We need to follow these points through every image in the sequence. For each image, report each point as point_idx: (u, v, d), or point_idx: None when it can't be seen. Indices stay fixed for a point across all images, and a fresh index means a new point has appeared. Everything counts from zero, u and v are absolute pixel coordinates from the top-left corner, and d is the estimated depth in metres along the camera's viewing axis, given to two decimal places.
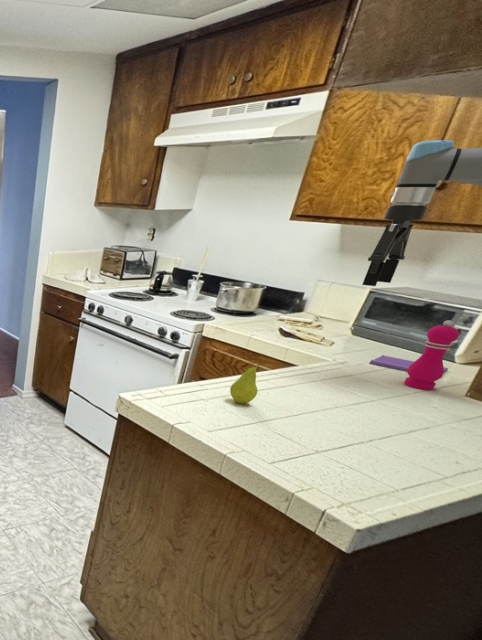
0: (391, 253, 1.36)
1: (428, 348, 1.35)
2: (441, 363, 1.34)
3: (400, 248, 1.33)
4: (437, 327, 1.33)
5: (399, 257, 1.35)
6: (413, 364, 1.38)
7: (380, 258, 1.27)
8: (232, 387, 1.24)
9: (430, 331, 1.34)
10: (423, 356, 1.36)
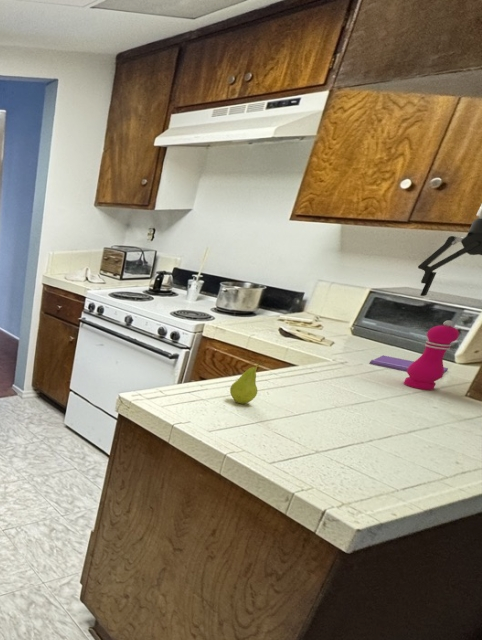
0: (438, 266, 1.31)
1: (428, 348, 1.35)
2: (441, 363, 1.34)
3: (449, 261, 1.30)
4: (437, 327, 1.33)
5: None
6: (413, 364, 1.38)
7: None
8: (232, 387, 1.24)
9: (430, 331, 1.34)
10: (423, 356, 1.36)
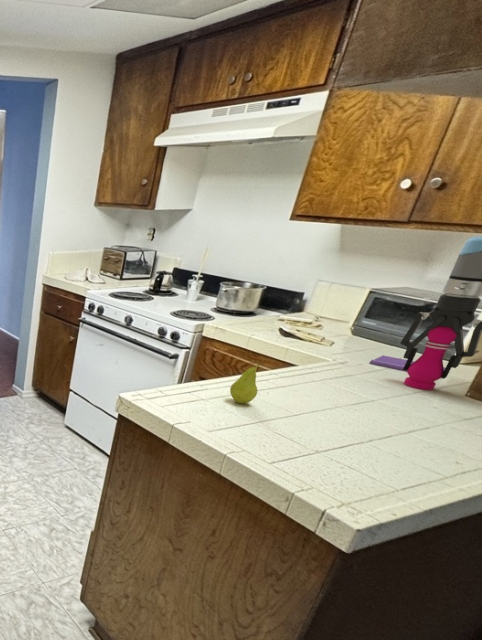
0: (418, 342, 1.37)
1: (428, 348, 1.35)
2: (441, 363, 1.34)
3: (426, 336, 1.37)
4: (437, 327, 1.33)
5: None
6: (413, 364, 1.38)
7: None
8: (232, 387, 1.24)
9: (430, 331, 1.34)
10: (423, 356, 1.36)
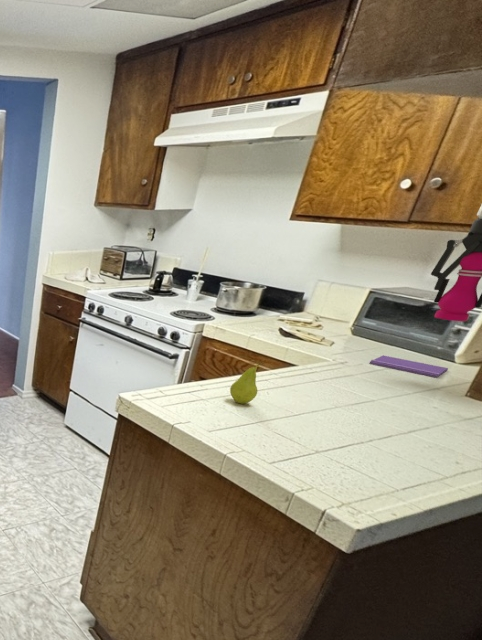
0: (450, 271, 1.31)
1: (462, 277, 1.29)
2: (475, 292, 1.28)
3: (459, 264, 1.31)
4: (471, 253, 1.27)
5: None
6: (445, 295, 1.32)
7: None
8: (232, 387, 1.24)
9: (463, 258, 1.28)
10: (456, 286, 1.30)
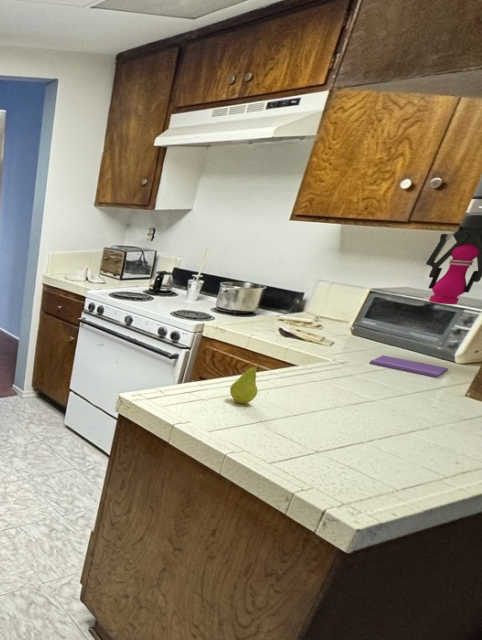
0: (443, 261, 1.51)
1: (452, 266, 1.48)
2: (464, 279, 1.48)
3: (450, 255, 1.50)
4: (461, 245, 1.46)
5: None
6: (438, 282, 1.52)
7: None
8: (232, 387, 1.24)
9: (454, 249, 1.48)
10: (447, 273, 1.50)
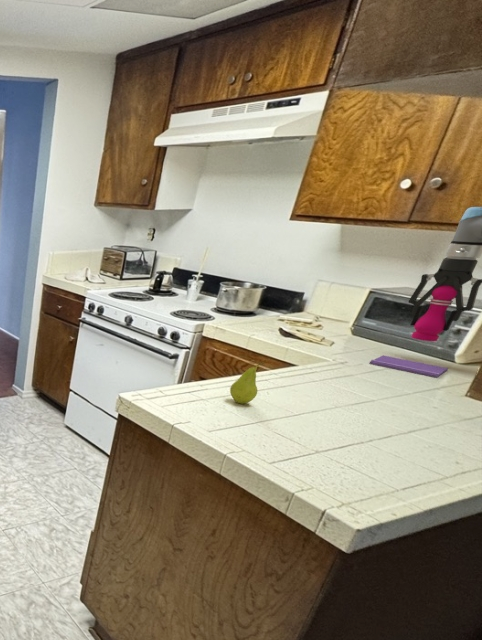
0: (424, 300, 1.59)
1: (433, 305, 1.57)
2: (444, 317, 1.56)
3: (431, 294, 1.58)
4: (440, 286, 1.55)
5: None
6: (419, 319, 1.60)
7: (471, 309, 1.52)
8: (232, 387, 1.24)
9: (434, 290, 1.56)
10: (428, 312, 1.58)
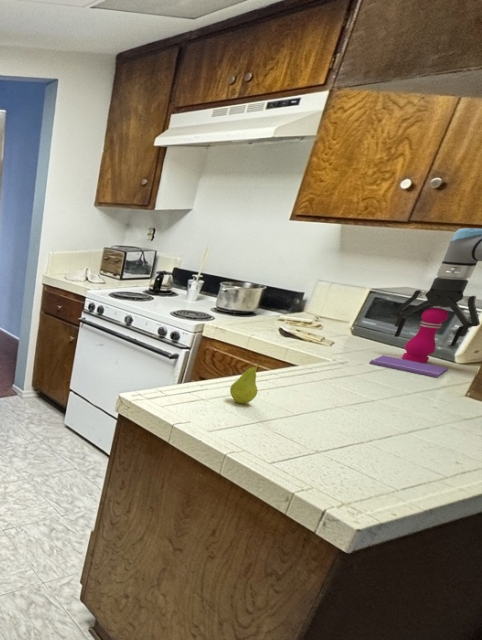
0: None
1: (423, 327, 1.59)
2: (433, 340, 1.59)
3: None
4: (430, 309, 1.57)
5: None
6: (410, 341, 1.63)
7: (478, 324, 1.51)
8: (232, 387, 1.24)
9: (424, 313, 1.59)
10: (418, 334, 1.61)
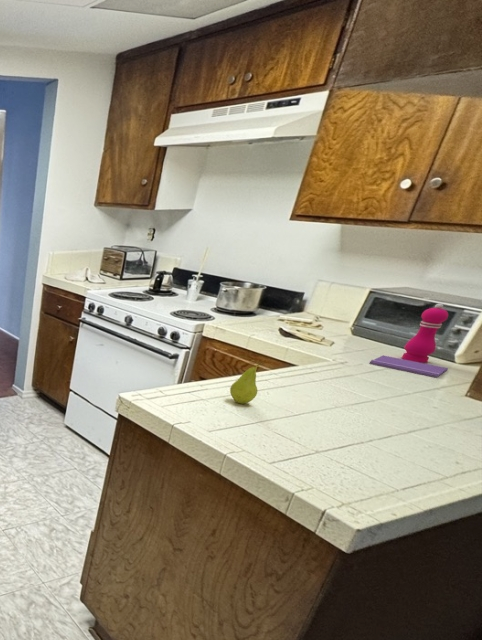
0: None
1: (423, 327, 1.59)
2: (433, 340, 1.59)
3: None
4: (430, 309, 1.57)
5: None
6: (410, 341, 1.63)
7: None
8: (232, 387, 1.24)
9: (424, 313, 1.59)
10: (418, 334, 1.61)
